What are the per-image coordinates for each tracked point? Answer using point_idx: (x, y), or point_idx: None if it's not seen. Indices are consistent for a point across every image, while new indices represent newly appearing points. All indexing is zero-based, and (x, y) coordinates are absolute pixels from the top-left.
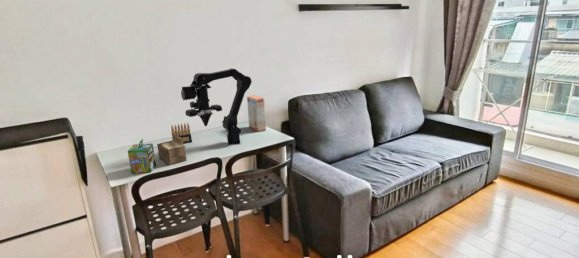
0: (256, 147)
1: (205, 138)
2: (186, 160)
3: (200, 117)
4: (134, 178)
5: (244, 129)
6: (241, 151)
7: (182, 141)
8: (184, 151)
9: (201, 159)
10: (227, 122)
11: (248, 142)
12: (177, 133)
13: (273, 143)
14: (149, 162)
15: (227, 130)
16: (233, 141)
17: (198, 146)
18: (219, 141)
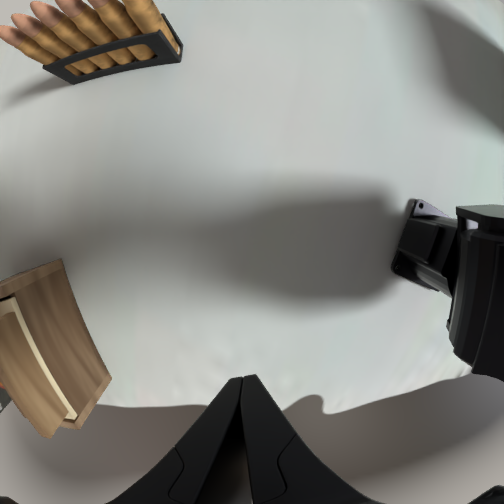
0: (447, 370)
1: (289, 30)
2: (111, 379)
3: (127, 500)
4: None
5: (496, 67)
6: (381, 396)
7: (57, 426)
8: (88, 408)
9: (178, 404)
10: (495, 367)
11: None
12: (58, 46)
13: None
14: (8, 402)
15: (463, 217)
16: (423, 280)
17: (195, 175)
18: (364, 153)
